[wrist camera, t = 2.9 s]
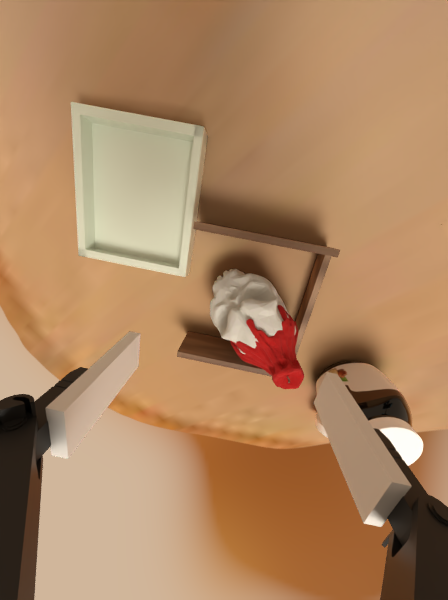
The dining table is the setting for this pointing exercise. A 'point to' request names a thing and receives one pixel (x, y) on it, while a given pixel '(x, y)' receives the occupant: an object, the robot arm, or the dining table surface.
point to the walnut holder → (224, 353)
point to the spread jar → (378, 405)
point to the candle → (257, 325)
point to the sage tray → (137, 187)
